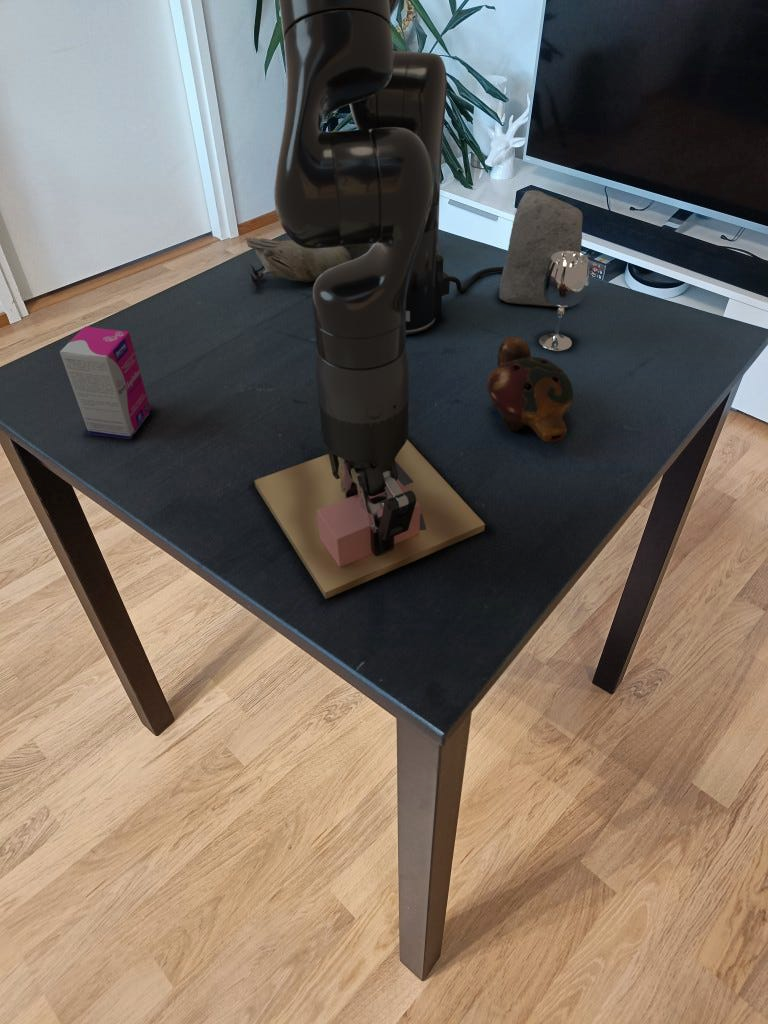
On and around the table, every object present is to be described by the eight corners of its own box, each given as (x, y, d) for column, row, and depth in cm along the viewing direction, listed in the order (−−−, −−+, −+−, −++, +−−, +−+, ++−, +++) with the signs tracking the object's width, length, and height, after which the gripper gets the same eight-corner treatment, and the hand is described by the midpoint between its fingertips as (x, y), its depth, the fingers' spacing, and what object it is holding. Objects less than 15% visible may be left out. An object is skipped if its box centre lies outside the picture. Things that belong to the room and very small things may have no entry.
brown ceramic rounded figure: (527, 376, 92) (540, 322, 86) (590, 451, 83) (610, 397, 77) (460, 389, 90) (469, 335, 84) (517, 469, 80) (532, 414, 74)
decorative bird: (354, 287, 110) (351, 240, 105) (250, 293, 110) (242, 246, 104) (352, 272, 114) (350, 225, 109) (252, 277, 113) (244, 230, 108)
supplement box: (133, 440, 84) (105, 357, 76) (87, 434, 85) (55, 351, 77) (154, 411, 88) (129, 329, 80) (110, 406, 89) (81, 324, 81)
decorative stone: (575, 295, 107) (593, 193, 97) (569, 314, 103) (588, 210, 93) (504, 285, 110) (514, 185, 100) (495, 303, 106) (505, 201, 96)
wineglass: (529, 348, 97) (541, 265, 89) (539, 328, 101) (552, 246, 92) (572, 356, 95) (588, 272, 87) (580, 335, 99) (596, 252, 91)
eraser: (397, 506, 74) (397, 478, 71) (419, 533, 71) (420, 505, 68) (319, 538, 71) (316, 509, 68) (339, 567, 68) (336, 539, 65)
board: (397, 435, 84) (397, 428, 83) (484, 530, 73) (485, 524, 72) (255, 487, 78) (254, 480, 77) (325, 599, 67) (324, 592, 66)
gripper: (448, 424, 56) (440, 567, 68) (363, 341, 65) (369, 480, 77) (364, 455, 53) (371, 598, 65) (287, 365, 62) (306, 505, 74)
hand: (370, 534), depth 71 cm, fingers closed on eraser, 4 cm apart
